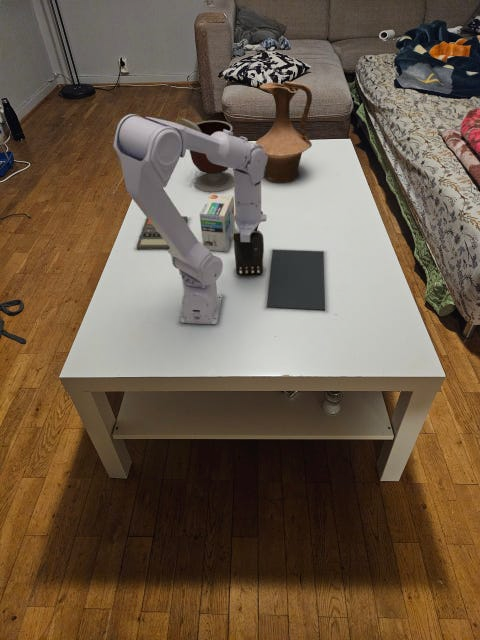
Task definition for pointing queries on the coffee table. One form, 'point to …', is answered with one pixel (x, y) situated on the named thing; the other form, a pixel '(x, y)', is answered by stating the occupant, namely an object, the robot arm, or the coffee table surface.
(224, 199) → the light bulb box
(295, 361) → the coffee table surface
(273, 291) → the mat
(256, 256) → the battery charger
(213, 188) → the mate gourd
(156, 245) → the calculator
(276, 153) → the pitcher
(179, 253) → the robot arm
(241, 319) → the coffee table surface
